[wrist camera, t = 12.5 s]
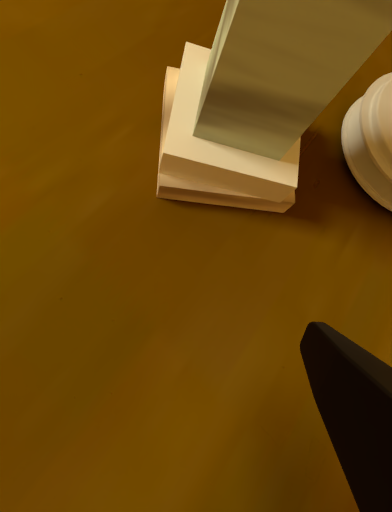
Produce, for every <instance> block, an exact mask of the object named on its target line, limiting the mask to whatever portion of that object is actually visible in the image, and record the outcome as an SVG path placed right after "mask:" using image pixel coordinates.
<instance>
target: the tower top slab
mask: <svg viewBox="0 0 392 512" xmlns="http://www.w3.org/2000/svg"><path fill="white" fill-rule="evenodd" d="M210 52H211V49H207V48H204V47H201V46H198V45H195V44H192V43H188V42H186V45H185V50H184V54H183V59H182V63H181V68H180V73H179V77H178V82H177V87H176V92H175V96H174V101H173V106H172V111H171V115H170V120H169V125H168V130H167V134H166V139H165V144H164V149H163V153H162V158H161V163H160V168H159V172H158V173H162V174H166V175H170V176H174V177H178V178H182V179H186V180H190V181H194V182H198V183H202V184H206V185H210V186H214V187H219V188H223V189H227V190H231V191H235V192H239V193H243V194H247V195H251V196H255V197H259V198H263V199H266V200H270V201H274V202H278V203H281V202H282V201H283V200H284V199H285V198H286V197H287V196H288V195H289V194H291V193H292V192H293V191H294V190H295V189H296V188H297V182H298V168H299V154H300V140H301V136H300V137H299V139H298V140H297V141H296V142H295V143H294V144H293V146H292V147H291V148H290V149H289V150H288V151H287V153H286V154H285V155H284V156H283V157H282V158H281V159H280V161H278V160H274V159H271V158H268V157H264V156H261V155H257V154H254V153H250V152H247V151H243V150H240V149H236V148H233V147H229V146H226V145H222V144H219V143H215V142H212V141H208V140H205V139H201V138H198V137H194V136H192V135H193V130H194V125H195V121H196V116H197V111H198V106H199V101H200V96H201V91H202V86H203V81H204V76H205V72H206V67H207V62H208V59H209V56H210Z"/></svg>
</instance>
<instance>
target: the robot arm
mask: <svg viewBox="0 0 392 512" xmlns="http://www.w3.org/2000/svg"><path fill="white" fill-rule="evenodd" d="M300 351H301V355H302V359H303V362H304V365H305V369H306V372H307V376H308V379H309V383H310V386H311V389H312V393H313V396H314V399H315V402H316V404H317V407H318V409H319V412H320V414H321V417H322V419H323V422H324V424H325V427H326V429H327V432H328V434H329V437H330V439H331V442H332V444H333V447H334V449H335V452H336V454H337V456H338V459H339V461H340V464H341V466H342V469H343V471H344V474H345V476H346V479H347V481H348V484H349V486H350V489H351V491H352V494H353V496H354V499H355V501H356V503H357V506H358V508H359V511H360V512H392V367H390V366H389V365H387V364H386V363H384V362H383V361H381V360H380V359H378V358H377V357H375V356H374V355H372V354H371V353H369V352H368V351H366V350H365V349H363V348H362V347H360V346H359V345H357V344H356V343H354V342H353V341H351V340H350V339H348V338H347V337H345V336H344V335H342V334H341V333H339V332H338V331H336V330H335V329H333V328H332V327H330V326H329V325H327V324H326V323H323V322H310V323H309V324H308V326H307V328H306V330H305V333H304V335H303V338H302V340H301V343H300Z"/></svg>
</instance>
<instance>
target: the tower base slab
mask: <svg viewBox="0 0 392 512" xmlns="http://www.w3.org/2000/svg"><path fill="white" fill-rule="evenodd" d="M179 73H180V69H178V68H173V67H168V66H167V71H166V77H165V83H164V96H163V111H162V125H161V140H160V155H159V168H160V163H161V158H162V153H163V149H164V144H165V139H166V134H167V130H168V125H169V120H170V115H171V111H172V106H173V101H174V96H175V92H176V87H177V82H178V77H179ZM158 172H159V170H158ZM157 198H165V199H173V200H181V201H189V202H198V203H206V204H214V205H222V206H231V207H239V208H247V209H255V210H264V211H272V212H280V213H284V212H285V211H286V210H287V209H289V208H290V207H291V206H292V205H293V204H295V190H294V191H293V192H292V193H291V194H289V195H288V196H287V197H286V198H285V199H284V200H283V201H282V202H281V203H278V202H274V201H270V200H266V199H263V198H259V197H255V196H251V195H247V194H243V193H239V192H235V191H231V190H227V189H223V188H219V187H214V186H210V185H206V184H202V183H198V182H194V181H190V180H186V179H182V178H178V177H174V176H170V175H166V174H162V173H158V184H157Z"/></svg>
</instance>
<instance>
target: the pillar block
mask: <svg viewBox="0 0 392 512" xmlns="http://www.w3.org/2000/svg"><path fill="white" fill-rule="evenodd" d="M391 30H392V0H227V1H226V4H225V7H224V10H223V14H222V17H221V20H220V23H219V26H218V30H217V33H216V36H215V39H214V43H213V46H212V49H211V52H210V56H209V59H208V62H207V67H206V72H205V76H204V81H203V86H202V91H201V96H200V101H199V106H198V111H197V116H196V121H195V125H194V130H193V135H192V136H194V137H198V138H201V139H205V140H208V141H212V142H215V143H219V144H222V145H226V146H229V147H233V148H236V149H240V150H243V151H247V152H250V153H254V154H257V155H261V156H264V157H268V158H271V159H274V160H278V161H280V159H281V158H282V157H283V156H284V155H285V154H286V153H287V151H288V150H289V149H290V148H291V147H292V146H293V144H294V143H295V142H296V141H297V140H298V139H299V137H300V136H301V135H302V134H303V133H304V132H305V130H306V129H307V128H308V127H309V126H310V125H311V123H312V122H313V121H314V120H315V119H316V118H317V116H318V115H319V114H320V113H321V112H322V111H323V109H324V108H325V107H326V106H327V105H328V104H329V102H330V101H331V100H332V99H333V98H334V97H335V96H336V94H337V93H338V92H339V91H340V90H341V89H342V87H343V86H344V85H345V84H346V83H347V82H348V80H349V79H350V78H351V77H352V76H353V75H354V73H355V72H356V71H357V70H358V69H359V68H360V66H361V65H362V64H363V63H364V62H365V61H366V59H367V58H368V57H369V56H370V55H371V54H372V52H373V51H374V50H375V49H376V48H377V47H378V45H379V44H380V43H381V42H382V41H383V40H384V39H385V37H386V36H387V35H388V34H389V33H390V32H391Z"/></svg>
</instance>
